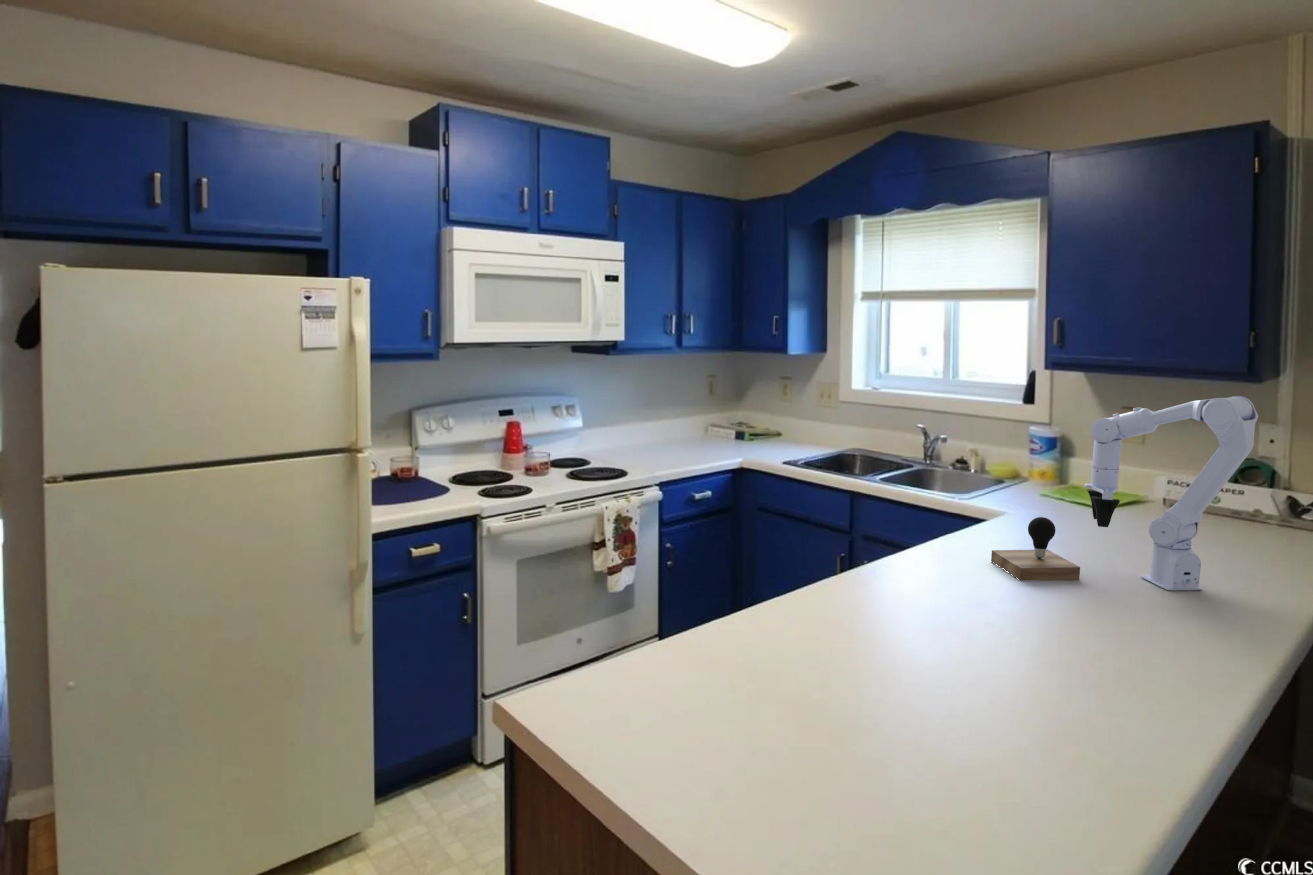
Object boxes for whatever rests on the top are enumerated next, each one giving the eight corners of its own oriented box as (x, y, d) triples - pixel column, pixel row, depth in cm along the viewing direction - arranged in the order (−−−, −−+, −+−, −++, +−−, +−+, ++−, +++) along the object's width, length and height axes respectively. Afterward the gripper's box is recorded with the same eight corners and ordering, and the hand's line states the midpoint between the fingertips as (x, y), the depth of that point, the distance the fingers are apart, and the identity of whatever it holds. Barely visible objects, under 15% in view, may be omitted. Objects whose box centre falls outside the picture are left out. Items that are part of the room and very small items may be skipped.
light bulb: (1057, 562, 185) (1060, 520, 184) (1031, 562, 186) (1034, 520, 184) (1047, 555, 191) (1050, 514, 189) (1021, 554, 191) (1024, 514, 190)
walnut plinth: (1079, 579, 182) (1080, 567, 182) (1019, 580, 181) (1020, 568, 181) (1046, 561, 196) (1047, 549, 196) (991, 562, 195) (991, 550, 195)
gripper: (1083, 461, 198) (1078, 514, 200) (1090, 471, 185) (1085, 528, 187) (1115, 463, 196) (1110, 517, 198) (1125, 473, 182) (1119, 531, 184)
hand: (1100, 522), depth 192 cm, fingers open, 7 cm apart
